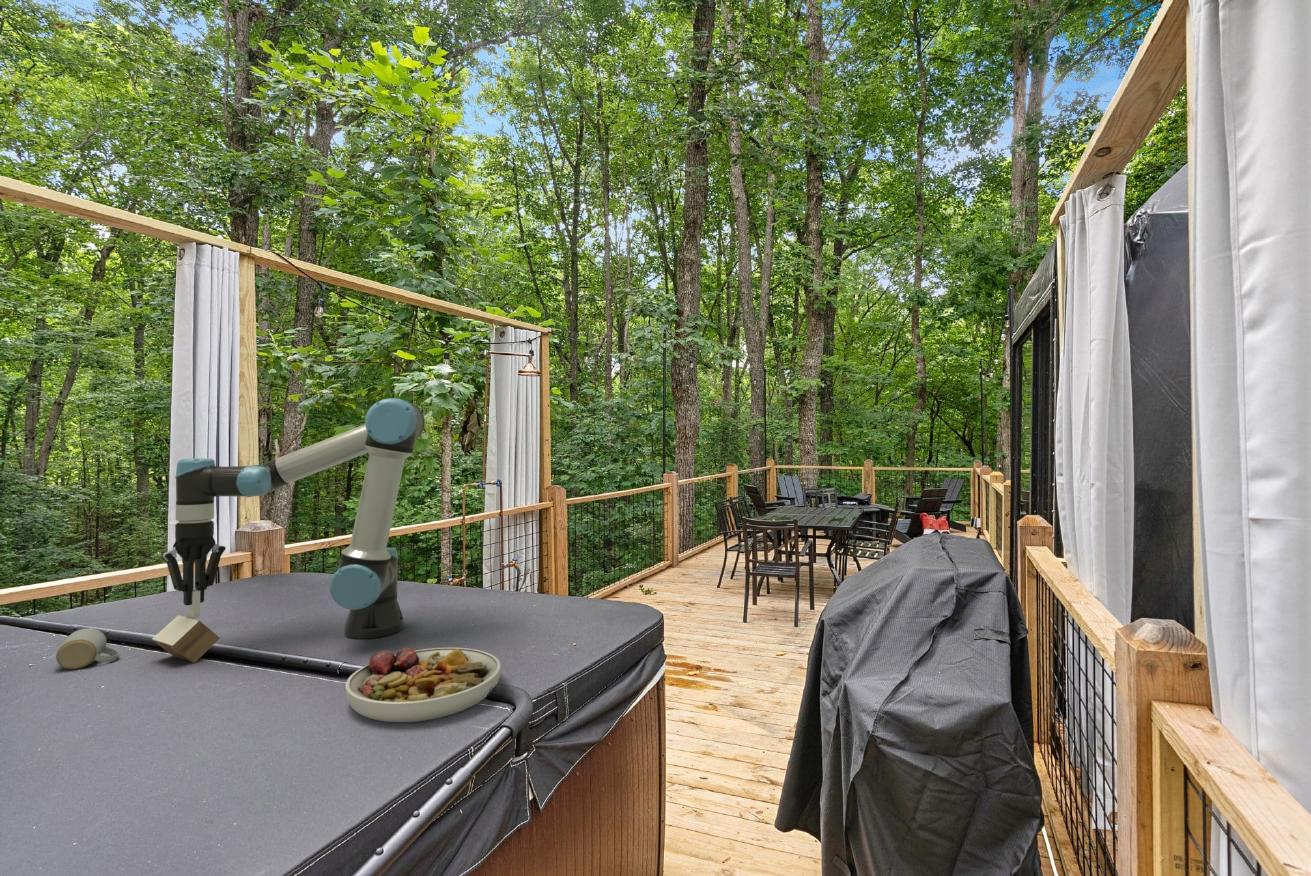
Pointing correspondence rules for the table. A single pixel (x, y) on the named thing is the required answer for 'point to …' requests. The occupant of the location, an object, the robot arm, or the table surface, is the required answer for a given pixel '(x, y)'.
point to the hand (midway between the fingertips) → (193, 617)
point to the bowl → (421, 683)
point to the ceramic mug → (85, 649)
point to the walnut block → (186, 638)
